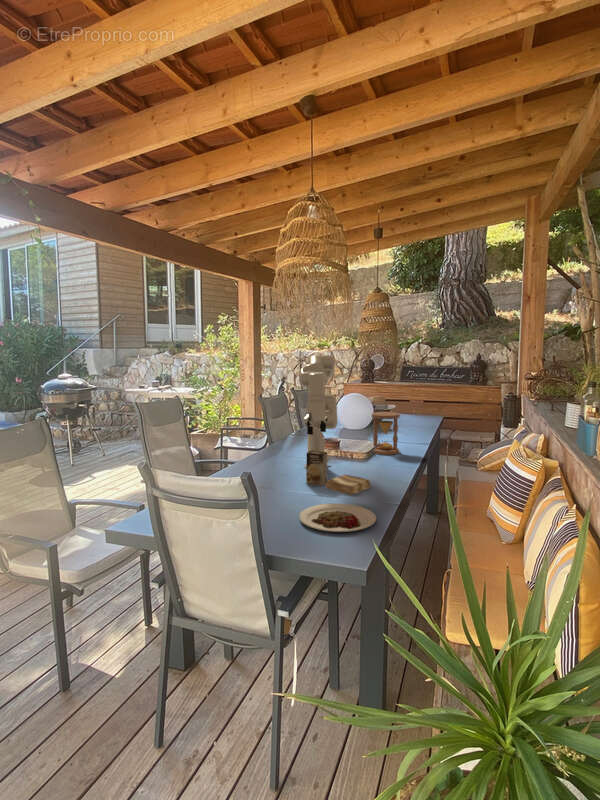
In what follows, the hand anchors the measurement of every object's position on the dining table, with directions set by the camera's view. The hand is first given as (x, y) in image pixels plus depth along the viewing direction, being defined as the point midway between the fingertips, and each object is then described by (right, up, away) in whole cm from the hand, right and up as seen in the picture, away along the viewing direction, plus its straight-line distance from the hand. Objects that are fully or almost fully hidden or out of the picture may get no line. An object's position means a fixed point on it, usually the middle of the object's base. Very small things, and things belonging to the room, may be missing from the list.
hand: (316, 433), depth 232 cm
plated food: (+7, -32, -46) cm, 56 cm away
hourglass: (+47, -18, +73) cm, 88 cm away
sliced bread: (+15, -26, -4) cm, 31 cm away
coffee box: (0, -26, +3) cm, 26 cm away
